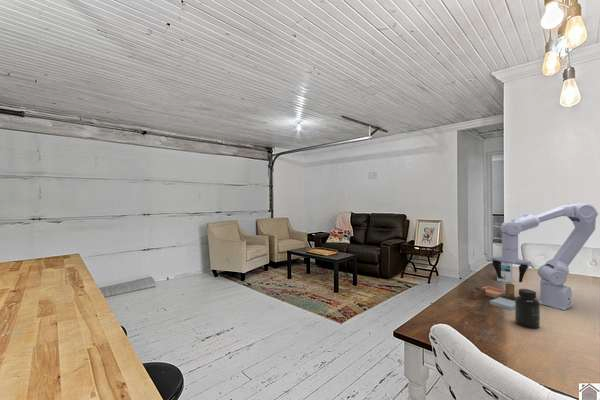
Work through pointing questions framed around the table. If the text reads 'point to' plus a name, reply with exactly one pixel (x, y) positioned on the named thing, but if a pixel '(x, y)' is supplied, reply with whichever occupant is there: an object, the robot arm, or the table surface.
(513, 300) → the socket
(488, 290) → the tray
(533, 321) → the supplement bottle
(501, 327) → the table surface
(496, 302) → the plate
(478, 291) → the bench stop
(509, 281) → the light bulb box
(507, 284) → the dowel
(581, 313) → the table surface
